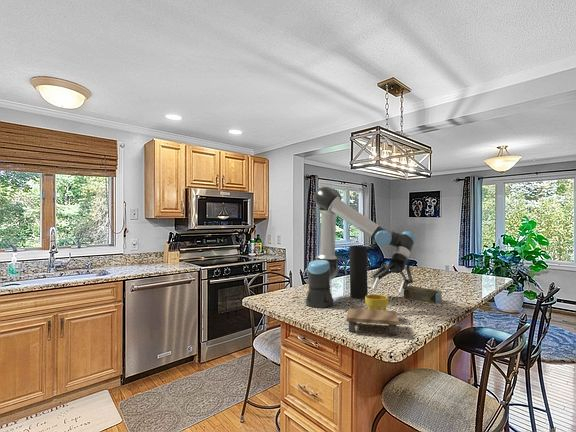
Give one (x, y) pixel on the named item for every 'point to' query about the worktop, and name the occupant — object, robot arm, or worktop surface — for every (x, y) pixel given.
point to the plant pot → (376, 302)
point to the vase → (358, 271)
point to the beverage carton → (423, 294)
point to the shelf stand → (372, 318)
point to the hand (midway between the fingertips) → (386, 292)
